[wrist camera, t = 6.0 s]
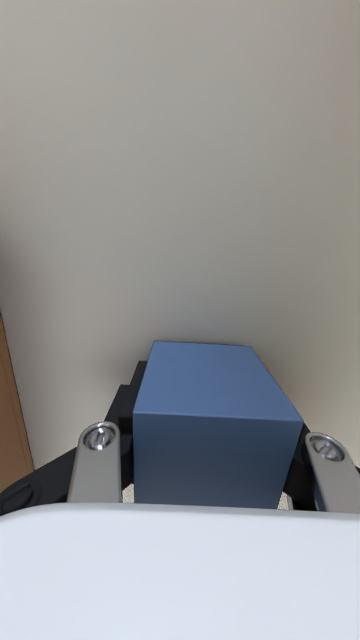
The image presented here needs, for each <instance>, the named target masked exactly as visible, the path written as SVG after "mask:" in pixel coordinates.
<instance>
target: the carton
mask: <svg viewBox="0 0 360 640" xmlns="http://www.w3.org/2000/svg"><path fill="white" fill-rule="evenodd" d="M33 471H34V468H33V463H32V459H31V454H30V449H29V445H28V440H27V435H26V431H25V426H24V422H23V417H22V412H21V408H20V403H19V398H18V394H17V389H16V385H15V380H14V375H13V371H12V366H11V361H10V357H9V352H8V348H7V343H6V338H5V334H4V329H3V325H2V320H1V315H0V493H1V492H2V491H3V490H5V489H6V488H7V487H8V486H10V485H11V484H13V483H14V482H16V481H18V480H19V479H21V478H23V477H25V476H26V475H28V474H30V473H32V472H33Z"/></svg>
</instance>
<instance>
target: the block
mask: <svg viewBox="0 0 360 640" xmlns="http://www.w3.org/2000/svg"><path fill="white" fill-rule="evenodd" d="M303 423H304V421H303V419H302V417H301V416H300V415H299V413H298V412H297V410H296V409H295V408H294V406H293V405H292V403H291V402H290V401H289V399H288V398H287V396H286V395H285V394H284V392H283V391H282V389H281V388H280V387H279V385H278V384H277V382H276V381H275V380H274V378H273V377H272V375H271V374H270V373H269V371H268V370H267V369H266V367H265V366H264V364H263V363H262V362H261V360H260V359H259V357H258V356H257V355H256V353H255V352H254V350H253V349H252V348H251V347H250V346H236V345H217V344H199V343H181V342H163V341H154V343H153V346H152V349H151V353H150V356H149V359H148V363H147V366H146V369H145V373H144V376H143V379H142V383H141V386H140V389H139V393H138V396H137V399H136V403H135V406H134V409H133V460H134V503H141V504H166V505H192V506H215V507H238V508H259V509H277V507H278V504H279V501H280V497H281V494H282V491H283V488H284V484H285V481H286V478H287V475H288V471H289V468H290V465H291V462H292V458H293V455H294V452H295V449H296V445H297V442H298V439H299V436H300V432H301V429H302V426H303Z"/></svg>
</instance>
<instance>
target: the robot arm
mask: <svg viewBox="0 0 360 640" xmlns="http://www.w3.org/2000/svg"><path fill="white" fill-rule="evenodd" d="M147 363H148V361H139V362H138V365H137V367H136V370H135V372H134V375H133V378H132V380H131V383H130V385H123V384H121V385H120V387H119V389H118V391H117V393H116V396H115V398H114V400H113V402H112V405H111V407H110V409H109V411H108V413H107V416H106V418H105V420H104V422H98V423H95V424H93V425H91V426H89V427H88V428H86V429H85V430H84V431H83V432H82V434H81V435H80V438H79V441H78V446H77V447H76V448H74V449H72V450H70V451H69V452H67V453H65V454H63V455H61V456H60V457H58V458H56V459H54V460H53V461H51V462H49V463H47V464H46V465H44V466H42V467H40V468H39V469H37V470H35V471H33V472H32V473H30V474H28V475H26V476H25V477H23V478H21V479H19V480H18V481H16V482H14V483H13V484H11V485H10V486H8V487H7V488H6V489H5V490H3V491H2V492H1V493H0V640H360V468H358V467H356V466H355V465H354V463H353V461H352V459H351V457H350V455H349V453H348V452H347V450H346V449H345V448H344V447H343V446H342V445H341V444H340V443H339V442H338V441H336V440H335V439H334V438H332V437H330V436H328V435H326V434H323V433H319V432H310V430H309V429H308V428H307V426H306V425H305V423H303V426H302V429H301V432H300V436H299V439H298V442H297V445H296V449H295V452H294V455H293V458H292V462H291V465H290V468H289V471H288V475H287V478H286V481H285V484H284V488H283V492H284V493H286V494H287V502H288V508H289V510H281V509H259V508H238V507H215V506H192V505H166V504H141V503H123V497H122V491H123V490H124V489H125V488H126V487H128V486H129V485H130V484H134V460H133V409H134V406H135V403H136V399H137V396H138V393H139V389H140V386H141V383H142V379H143V376H144V373H145V369H146V366H147Z"/></svg>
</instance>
